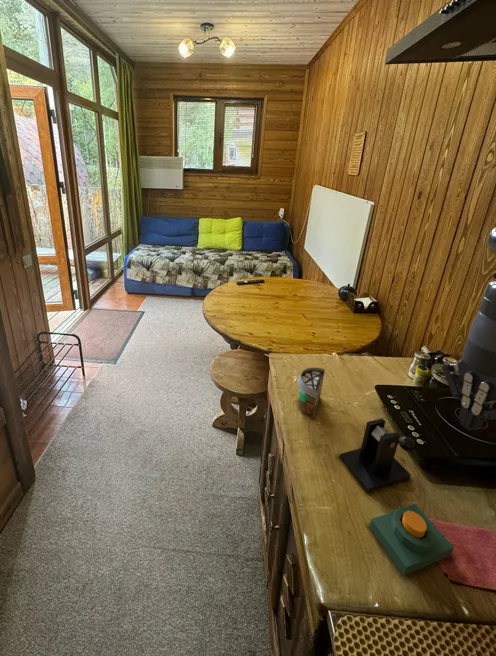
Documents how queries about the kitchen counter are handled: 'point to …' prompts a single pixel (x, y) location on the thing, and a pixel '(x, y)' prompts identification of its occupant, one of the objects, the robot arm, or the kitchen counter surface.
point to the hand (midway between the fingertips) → (467, 426)
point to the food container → (310, 389)
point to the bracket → (376, 460)
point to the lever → (404, 441)
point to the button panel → (410, 540)
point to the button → (414, 524)
